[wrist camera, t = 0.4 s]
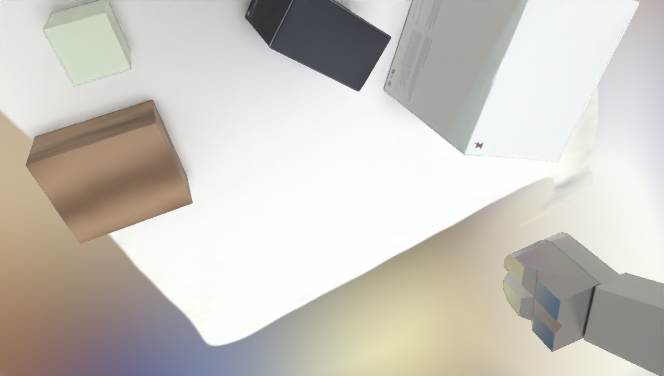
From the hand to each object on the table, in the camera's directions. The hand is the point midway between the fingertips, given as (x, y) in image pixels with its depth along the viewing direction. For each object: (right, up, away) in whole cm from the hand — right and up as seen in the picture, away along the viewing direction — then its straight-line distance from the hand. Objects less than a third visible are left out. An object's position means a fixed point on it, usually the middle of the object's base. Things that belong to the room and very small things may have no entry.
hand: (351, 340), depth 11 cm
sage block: (-23, +18, +34) cm, 45 cm away
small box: (-4, +22, +40) cm, 46 cm away
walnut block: (-24, +7, +41) cm, 48 cm away
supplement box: (+14, +23, +48) cm, 55 cm away
